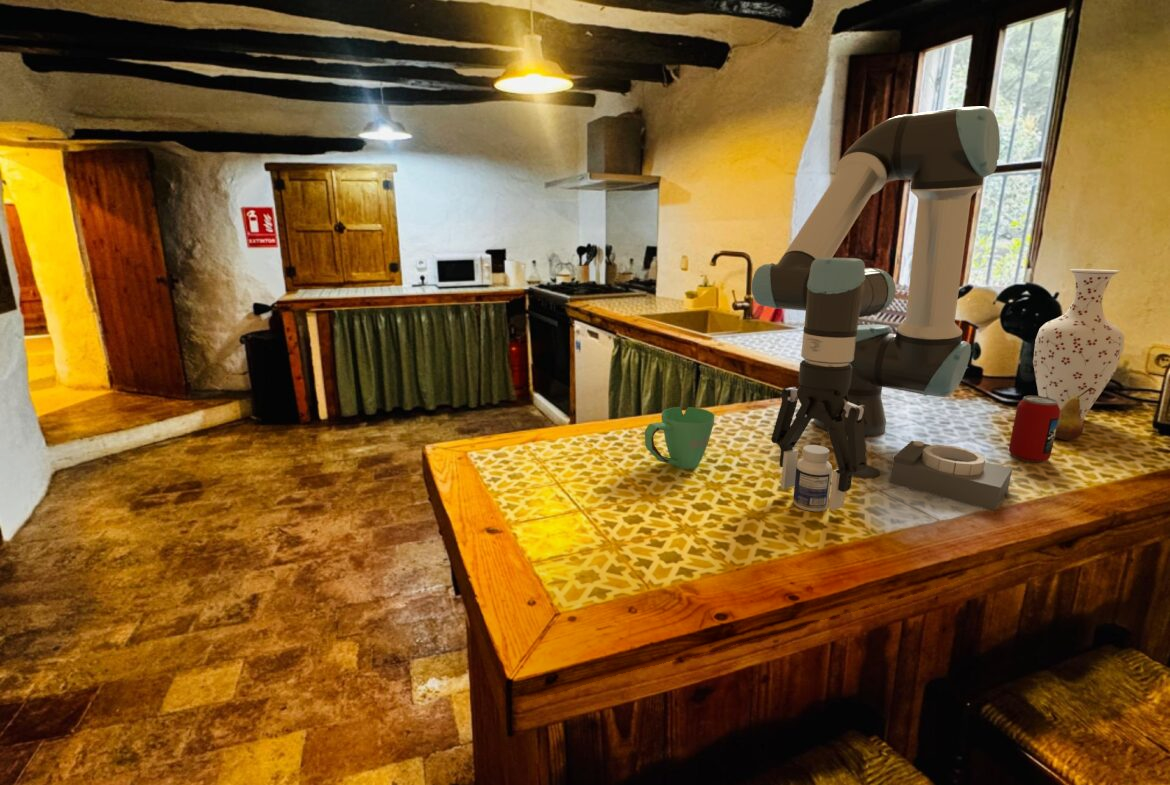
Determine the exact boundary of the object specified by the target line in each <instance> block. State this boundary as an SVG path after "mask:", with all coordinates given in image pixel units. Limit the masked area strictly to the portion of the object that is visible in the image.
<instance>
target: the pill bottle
mask: <svg viewBox="0 0 1170 785" xmlns="http://www.w3.org/2000/svg"><path fill="white" fill-rule="evenodd" d="M829 458H830V449H829V448H828V447H825V446H823V445H817V444H807V445H804V446H803V448H802V458H800V459H799V460H797V467H796V476H795V486H793V487H794V488H793V500H792V501H793V504H794V506H796V507H797V508H799V509H800V510H804V511H808V512H824V511H825V510H827V509H828V508H829V502H830V494H831V485H832V477H833V465H832V464H831V463H830V462H829V461H828V460H829Z"/></svg>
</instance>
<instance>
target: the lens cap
mask: <svg viewBox="0 0 1170 785" xmlns="http://www.w3.org/2000/svg"><path fill="white" fill-rule="evenodd" d="M880 475H881V472H880V470H879V469H878V468H877V467H875V466H872V465H869V464H867V468H866V469H864V470H861V471H858V472H855V473H853V475H852V477H856V478H862V479H876V478H879V476H880Z"/></svg>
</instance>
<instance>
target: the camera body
mask: <svg viewBox="0 0 1170 785" xmlns="http://www.w3.org/2000/svg"><path fill="white" fill-rule="evenodd" d="M891 466H892V467H891V471H890V479H889V483H890V484H894V485H897V486H901V487H905V488H908V489H912V490H916V491H920V492H923V493H927V494H932V495H935V496H939V497H943V498H946V499H951V500H955V501H959V502H961V503H966V504H970V505H973V506H977V507H981V508H983V509H984V508H985V509H989V510H993V511H995V512H996V511H997V509H998V508H999V506H1000V504H1001V502H1002V501H1003V499H1004V497H1005V496H1006V494H1007V492H1008V491H1009V487H1010V482H1011V478H1012V472H1013V468H1012V467H1010V466H1009V467H1008V466H1003V465H999V464H995V463H990V462H986V458H985V457H984V456H983V455H982V454H981V453H978V452H976V451H974V450H971V449H968V448H964V447H959V446H955V445H947V444H946V445H945V444H943V445H942V444H934V445H931V444H928V443H924V442H922V441H918V440H914V441H913V440H911V441H910V442H909V443H908V444H906V445H905V446H904V447H903V448H902V449H901V450H899V451H898V452H897V453H896V454H895V455H894V456H893V459H892V465H891Z"/></svg>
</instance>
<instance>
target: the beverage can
mask: <svg viewBox="0 0 1170 785" xmlns="http://www.w3.org/2000/svg"><path fill="white" fill-rule="evenodd" d="M1057 403H1058V401H1056V400H1054V399H1051V398H1047V397H1041V396H1039V395H1026V396H1023V397H1022V399H1021V400H1020V401H1019V402H1018V404H1017V407H1016V411H1015V415H1014V422H1013V424H1012V430H1011V436H1010V441H1009V447H1008V452H1009V453H1010V454H1012V455H1013V457H1015V458H1016V459H1020V460H1023V461H1027V462H1032V463H1033V462H1034V463H1040V462H1041V463H1042V462H1043V461H1047V460H1049V459H1050V457H1051V454H1052V451H1053V446H1054V442H1055V439H1056V437H1055V434H1056V429H1057V425H1058V420H1059V415H1060V408H1059V406H1058V404H1057Z"/></svg>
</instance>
